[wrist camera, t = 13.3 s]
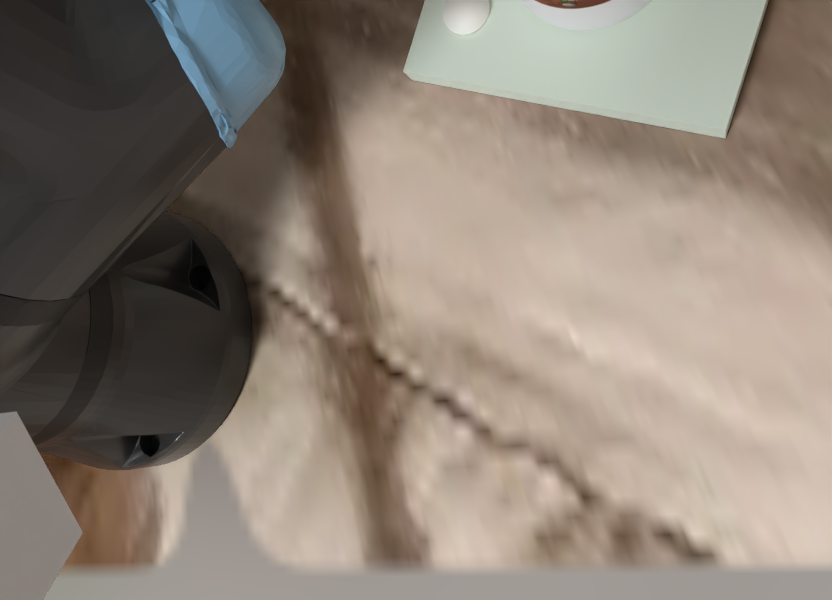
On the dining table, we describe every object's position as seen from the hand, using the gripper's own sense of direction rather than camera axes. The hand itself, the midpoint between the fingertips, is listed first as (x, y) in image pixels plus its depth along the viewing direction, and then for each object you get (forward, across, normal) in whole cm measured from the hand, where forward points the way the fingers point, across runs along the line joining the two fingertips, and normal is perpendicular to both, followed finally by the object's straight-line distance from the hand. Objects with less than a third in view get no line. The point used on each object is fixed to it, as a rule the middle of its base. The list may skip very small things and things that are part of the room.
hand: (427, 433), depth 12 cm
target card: (+31, +7, +2) cm, 32 cm away
